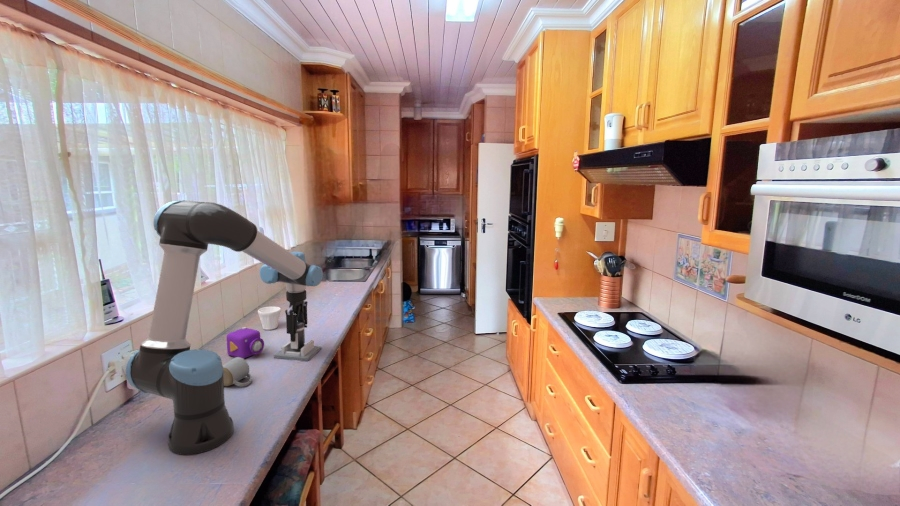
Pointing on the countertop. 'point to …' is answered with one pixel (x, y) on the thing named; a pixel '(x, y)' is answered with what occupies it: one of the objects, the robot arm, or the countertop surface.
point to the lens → (300, 335)
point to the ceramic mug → (236, 372)
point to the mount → (298, 352)
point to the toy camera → (244, 343)
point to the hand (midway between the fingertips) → (298, 345)
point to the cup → (269, 317)
